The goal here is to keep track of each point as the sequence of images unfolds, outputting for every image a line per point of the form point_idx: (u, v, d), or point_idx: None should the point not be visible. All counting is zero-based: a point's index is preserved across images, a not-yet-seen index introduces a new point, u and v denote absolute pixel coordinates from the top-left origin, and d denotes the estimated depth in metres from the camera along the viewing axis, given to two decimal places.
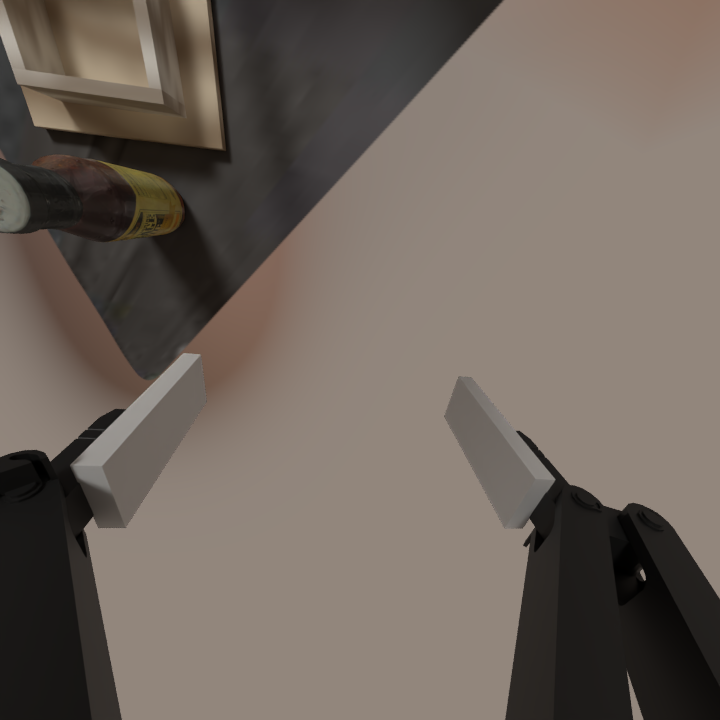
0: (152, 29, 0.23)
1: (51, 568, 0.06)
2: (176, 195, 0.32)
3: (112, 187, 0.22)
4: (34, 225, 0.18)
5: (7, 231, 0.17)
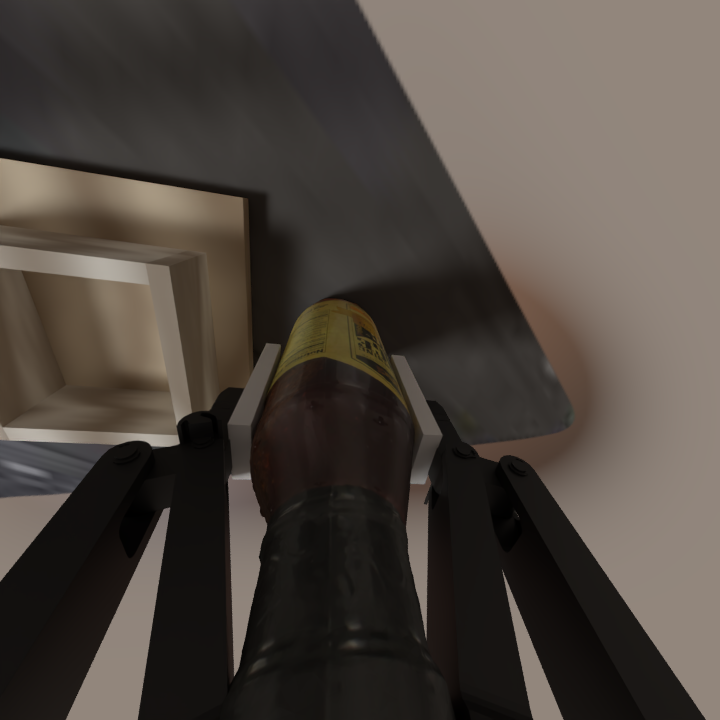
0: (56, 250, 0.13)
1: (213, 509, 0.07)
2: (321, 302, 0.19)
3: (308, 398, 0.09)
4: None
5: None
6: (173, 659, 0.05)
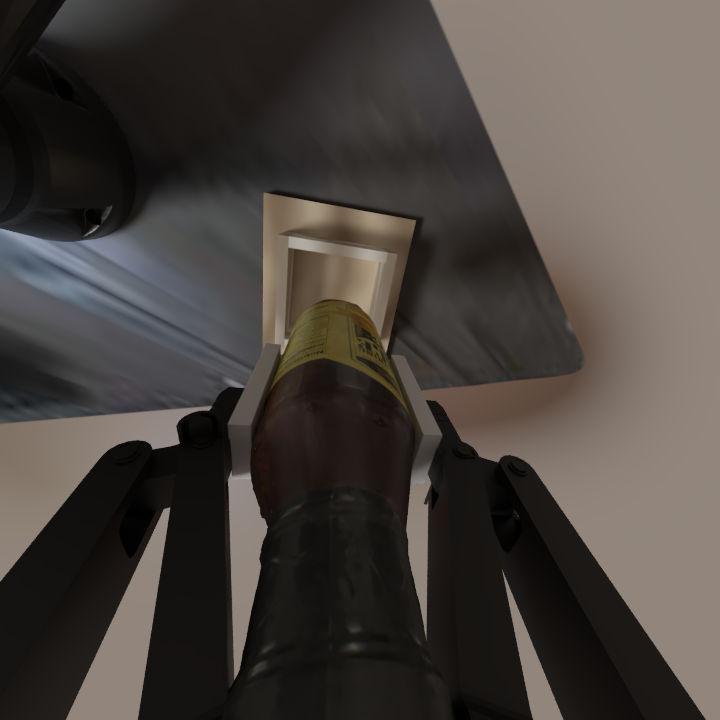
0: (348, 245, 0.27)
1: (212, 509, 0.07)
2: (321, 303, 0.19)
3: (308, 400, 0.09)
4: None
5: None
6: (173, 659, 0.05)
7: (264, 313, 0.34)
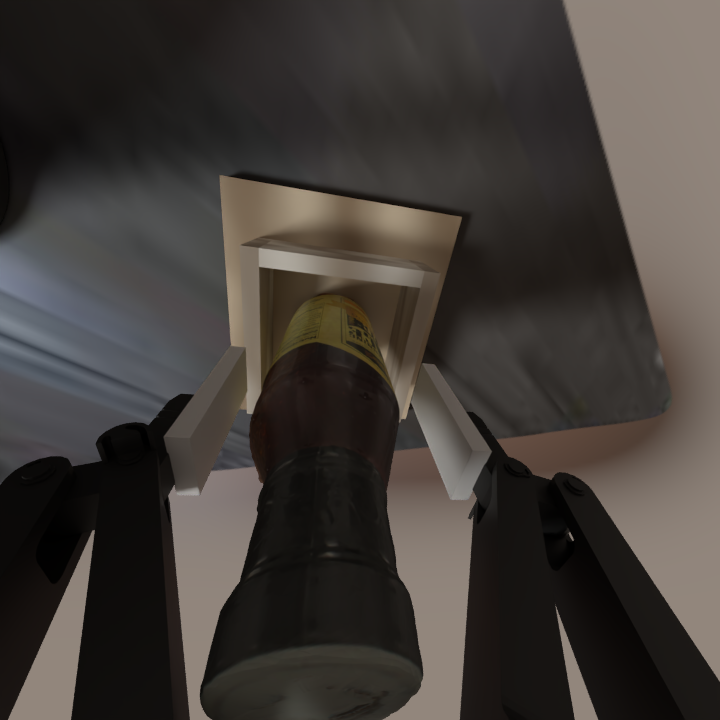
0: (360, 261, 0.17)
1: (147, 528, 0.06)
2: (317, 297, 0.20)
3: (300, 375, 0.10)
4: (402, 619, 0.05)
5: (418, 688, 0.05)
6: (106, 697, 0.04)
7: None
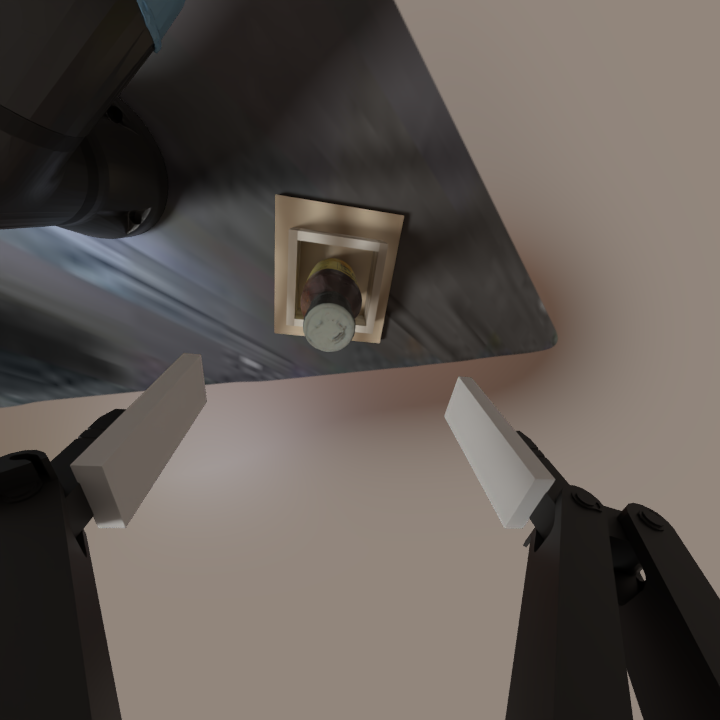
0: (347, 237, 0.33)
1: (51, 569, 0.06)
2: (325, 259, 0.36)
3: (321, 274, 0.26)
4: (350, 311, 0.22)
5: (354, 327, 0.22)
6: None
7: (276, 298, 0.40)
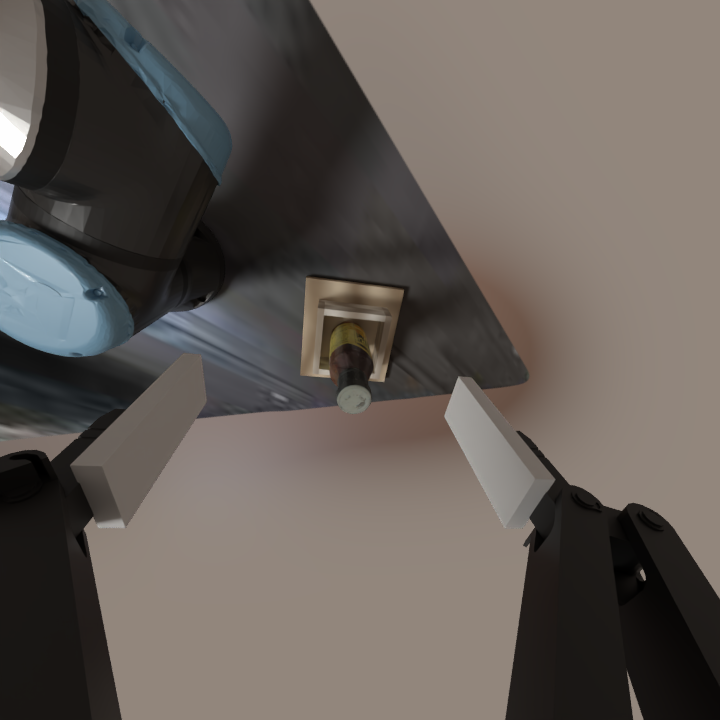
0: (361, 312, 0.44)
1: (51, 569, 0.06)
2: (343, 324, 0.47)
3: (345, 352, 0.37)
4: (368, 388, 0.32)
5: (370, 399, 0.32)
6: None
7: (302, 349, 0.50)
